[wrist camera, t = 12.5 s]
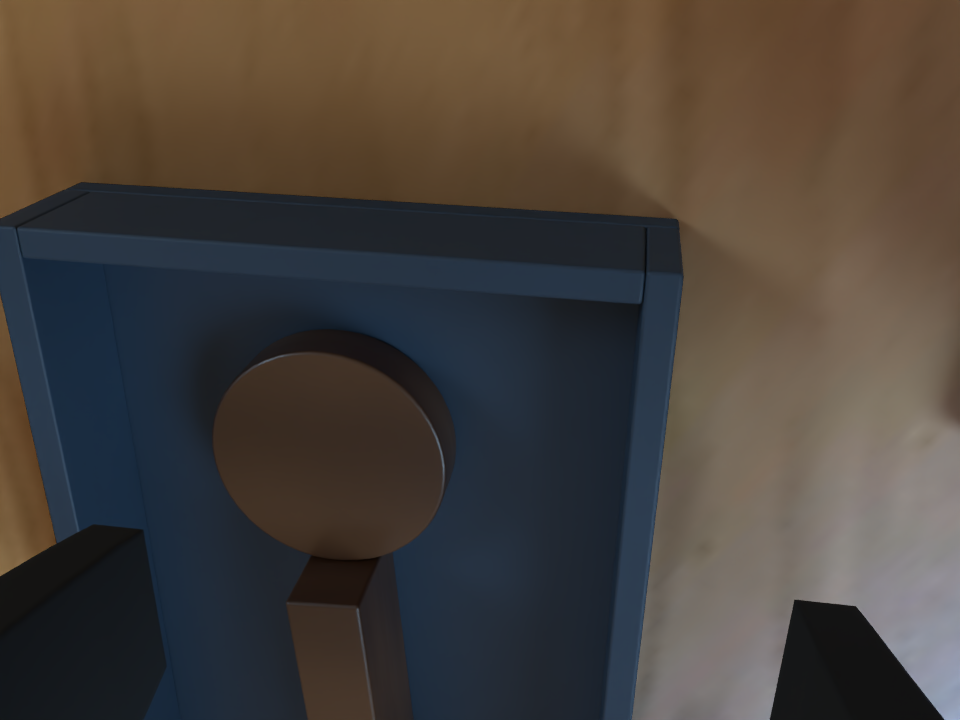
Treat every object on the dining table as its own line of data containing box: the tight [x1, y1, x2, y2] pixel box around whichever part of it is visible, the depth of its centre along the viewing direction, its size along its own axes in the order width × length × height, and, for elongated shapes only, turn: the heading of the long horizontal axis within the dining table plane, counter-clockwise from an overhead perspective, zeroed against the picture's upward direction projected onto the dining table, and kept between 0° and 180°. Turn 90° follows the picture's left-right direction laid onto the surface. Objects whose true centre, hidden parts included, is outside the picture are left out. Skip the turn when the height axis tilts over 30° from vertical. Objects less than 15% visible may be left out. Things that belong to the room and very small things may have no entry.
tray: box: [0, 182, 684, 720], centre depth 22 cm, size 12×22×3 cm, turn 179°
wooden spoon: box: [212, 329, 456, 720], centre depth 21 cm, size 17×5×3 cm, turn 3°
